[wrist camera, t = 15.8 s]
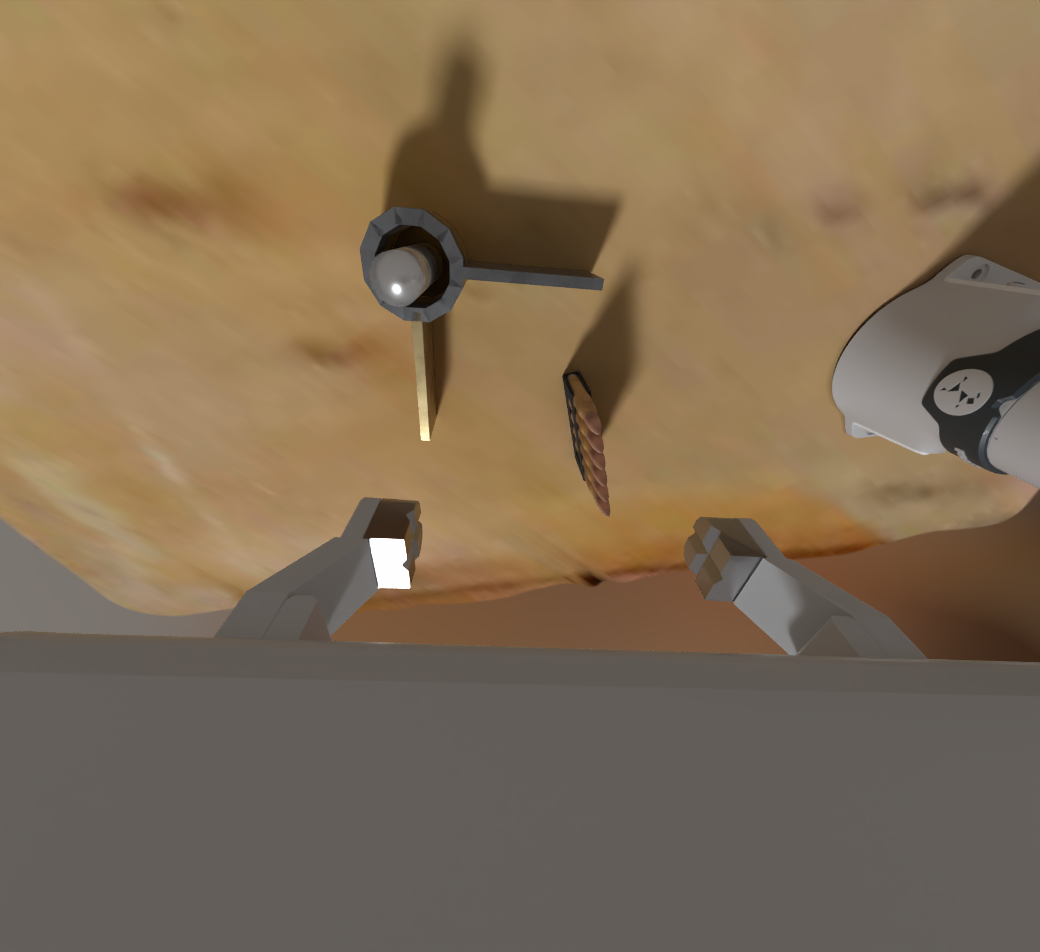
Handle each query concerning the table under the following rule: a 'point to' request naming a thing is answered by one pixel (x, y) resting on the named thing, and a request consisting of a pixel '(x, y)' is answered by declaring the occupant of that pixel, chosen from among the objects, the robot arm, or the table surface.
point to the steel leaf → (456, 264)
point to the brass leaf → (425, 354)
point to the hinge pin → (405, 273)
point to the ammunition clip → (587, 438)
